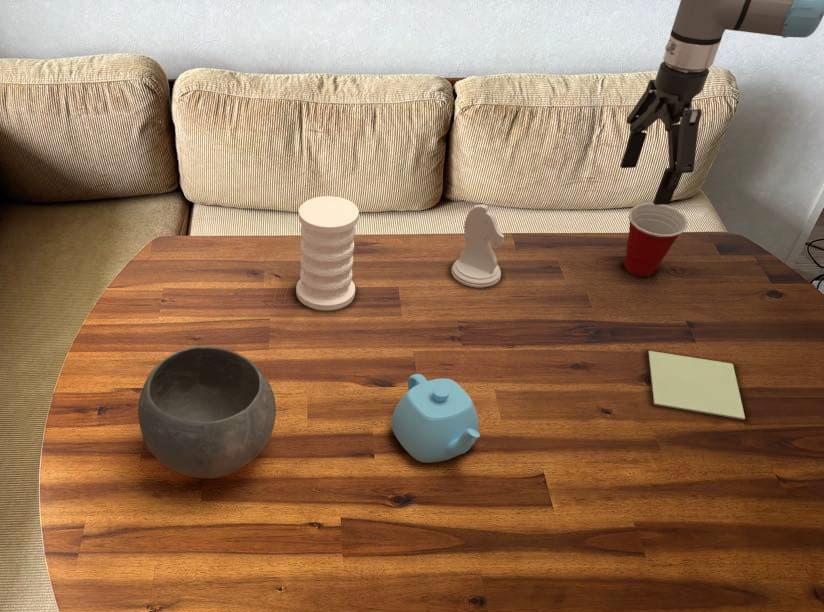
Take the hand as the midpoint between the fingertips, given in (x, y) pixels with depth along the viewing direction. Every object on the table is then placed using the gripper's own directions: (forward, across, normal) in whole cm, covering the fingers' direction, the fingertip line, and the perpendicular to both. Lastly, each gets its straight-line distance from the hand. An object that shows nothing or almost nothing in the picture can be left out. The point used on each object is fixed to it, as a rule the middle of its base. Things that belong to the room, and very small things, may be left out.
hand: (643, 184), depth 140 cm
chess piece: (+21, -5, -26) cm, 34 cm away
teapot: (+21, +40, -46) cm, 64 cm away
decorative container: (+21, -2, -58) cm, 61 cm away
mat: (+21, +32, +1) cm, 38 cm away
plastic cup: (+21, -3, +7) cm, 22 cm away
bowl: (+21, +38, -82) cm, 92 cm away
